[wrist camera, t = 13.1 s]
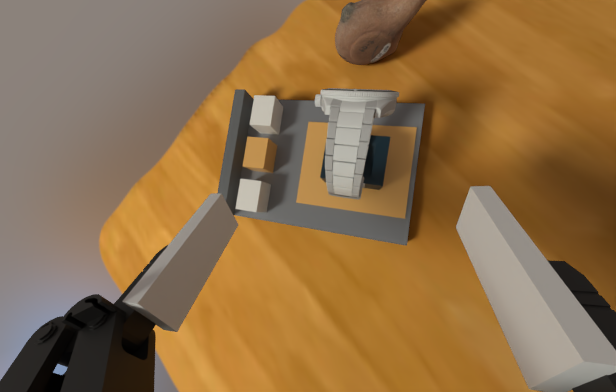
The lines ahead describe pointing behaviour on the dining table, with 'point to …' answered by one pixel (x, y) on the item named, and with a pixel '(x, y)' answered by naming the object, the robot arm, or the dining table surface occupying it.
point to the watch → (354, 139)
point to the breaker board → (314, 169)
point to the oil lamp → (373, 28)
